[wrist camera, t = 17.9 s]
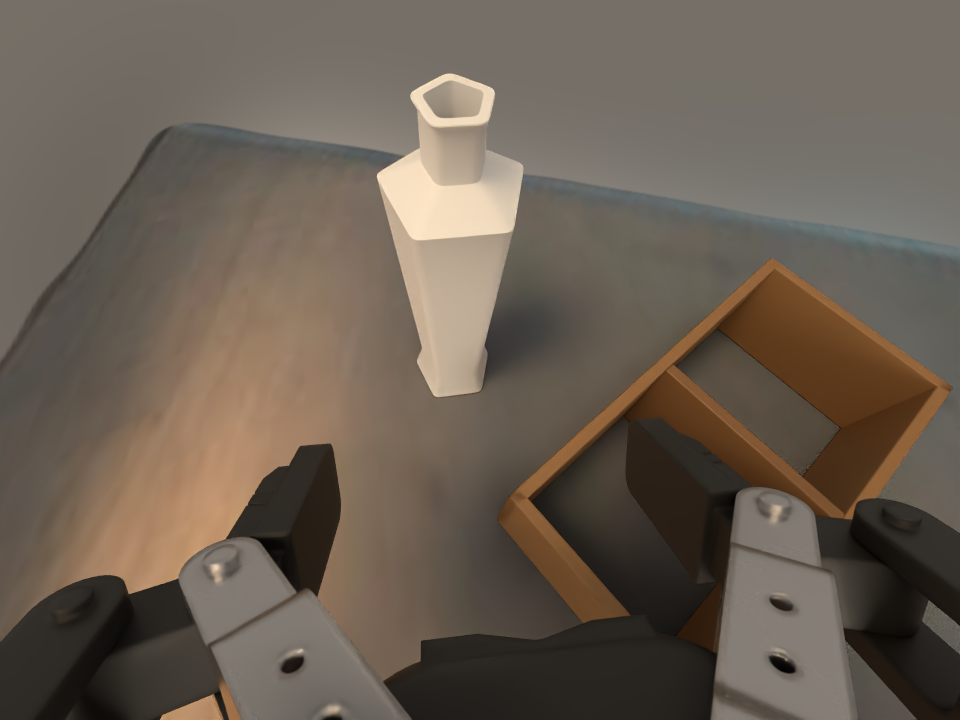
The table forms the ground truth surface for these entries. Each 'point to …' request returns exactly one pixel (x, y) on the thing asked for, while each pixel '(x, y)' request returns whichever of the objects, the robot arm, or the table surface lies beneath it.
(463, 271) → the perfume bottle
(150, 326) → the table surface
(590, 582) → the divided tray
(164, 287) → the table surface
